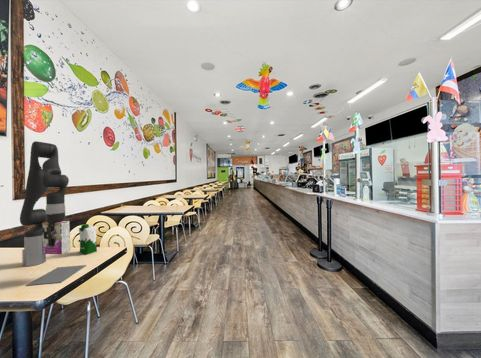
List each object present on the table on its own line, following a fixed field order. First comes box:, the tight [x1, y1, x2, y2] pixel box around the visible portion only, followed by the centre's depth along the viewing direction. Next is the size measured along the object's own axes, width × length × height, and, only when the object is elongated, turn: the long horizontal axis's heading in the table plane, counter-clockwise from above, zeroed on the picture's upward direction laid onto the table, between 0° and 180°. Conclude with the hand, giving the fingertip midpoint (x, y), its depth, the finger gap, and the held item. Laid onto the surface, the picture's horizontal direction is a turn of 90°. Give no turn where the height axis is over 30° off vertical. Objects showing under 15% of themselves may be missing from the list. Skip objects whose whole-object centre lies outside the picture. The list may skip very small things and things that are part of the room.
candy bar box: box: [42, 220, 71, 255], centre depth 104 cm, size 11×5×16 cm, turn 84°
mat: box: [25, 264, 87, 287], centre depth 105 cm, size 15×20×1 cm
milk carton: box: [78, 223, 98, 256], centre depth 139 cm, size 9×9×20 cm
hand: (56, 244), depth 103 cm, fingers closed on candy bar box, 5 cm apart
